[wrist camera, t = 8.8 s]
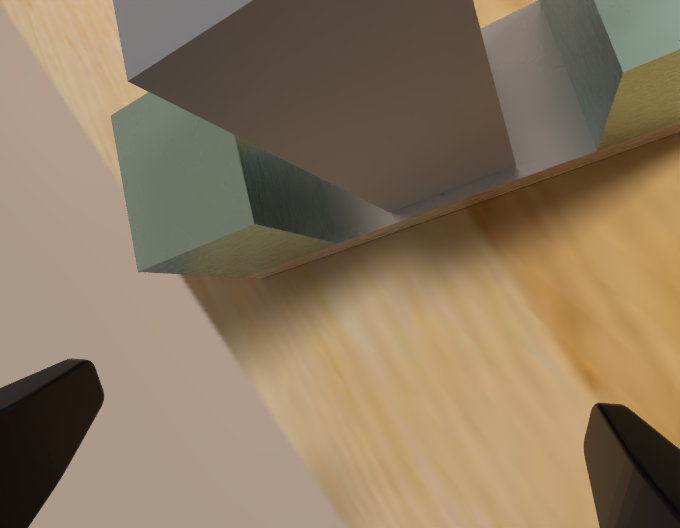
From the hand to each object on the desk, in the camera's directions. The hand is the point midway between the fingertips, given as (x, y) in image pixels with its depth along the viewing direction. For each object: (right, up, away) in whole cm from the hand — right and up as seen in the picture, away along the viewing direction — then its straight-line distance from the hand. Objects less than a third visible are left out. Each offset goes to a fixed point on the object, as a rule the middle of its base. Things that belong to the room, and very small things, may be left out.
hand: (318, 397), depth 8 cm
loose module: (+4, +8, +10) cm, 13 cm away
